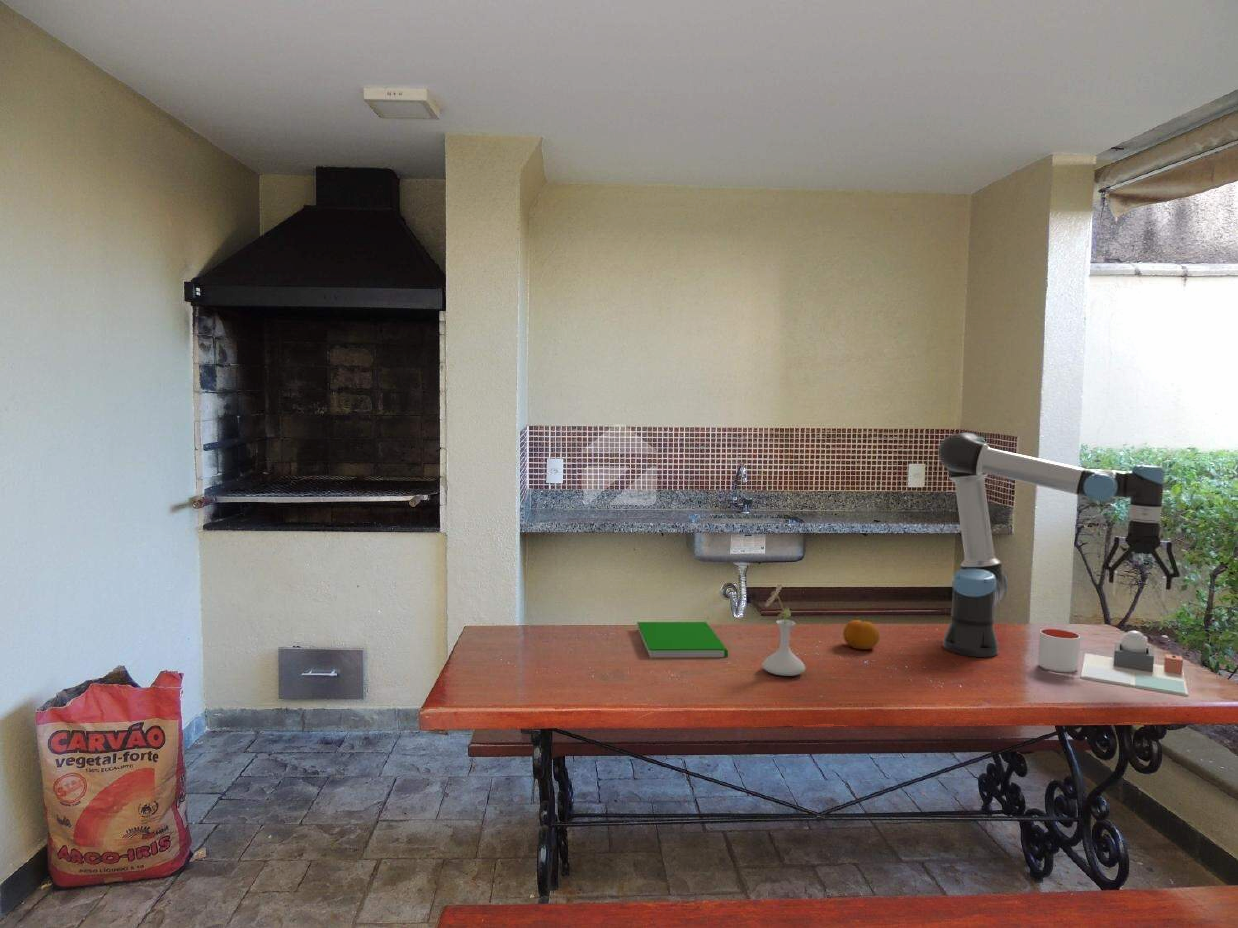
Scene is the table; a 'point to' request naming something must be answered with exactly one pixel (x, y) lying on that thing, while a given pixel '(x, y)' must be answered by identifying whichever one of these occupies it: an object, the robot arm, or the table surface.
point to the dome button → (1134, 642)
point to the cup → (1059, 650)
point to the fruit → (861, 634)
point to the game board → (1138, 674)
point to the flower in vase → (783, 645)
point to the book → (680, 639)
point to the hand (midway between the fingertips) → (1138, 597)
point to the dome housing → (1133, 659)
